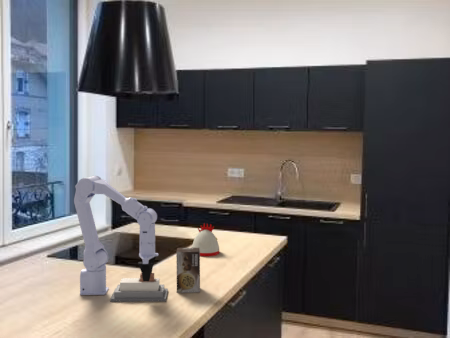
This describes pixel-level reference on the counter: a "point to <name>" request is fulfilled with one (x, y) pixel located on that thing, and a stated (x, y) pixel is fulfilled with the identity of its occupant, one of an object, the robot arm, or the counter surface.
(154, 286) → the white hollow block
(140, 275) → the terracotta flat slab
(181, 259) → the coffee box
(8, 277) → the counter surface
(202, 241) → the kitchen timer
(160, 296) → the cradle
